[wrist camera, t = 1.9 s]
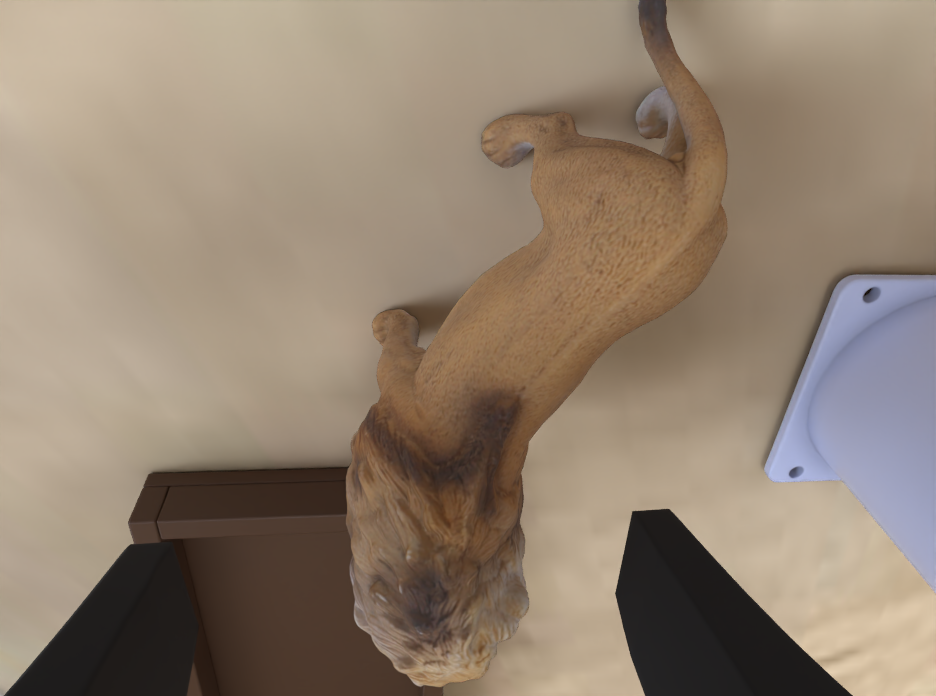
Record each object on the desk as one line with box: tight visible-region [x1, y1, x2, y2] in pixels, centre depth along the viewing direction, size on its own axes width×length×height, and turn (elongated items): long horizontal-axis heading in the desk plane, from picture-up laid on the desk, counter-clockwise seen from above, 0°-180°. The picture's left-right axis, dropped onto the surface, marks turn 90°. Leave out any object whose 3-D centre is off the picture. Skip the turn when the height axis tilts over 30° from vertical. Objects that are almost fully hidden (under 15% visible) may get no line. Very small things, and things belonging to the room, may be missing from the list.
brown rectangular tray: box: [128, 468, 443, 696], centre depth 25 cm, size 10×18×2 cm, turn 176°
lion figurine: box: [346, 0, 727, 687], centre depth 14 cm, size 15×5×9 cm, turn 155°
